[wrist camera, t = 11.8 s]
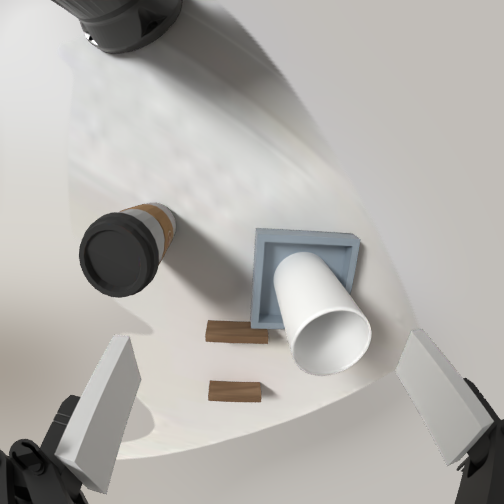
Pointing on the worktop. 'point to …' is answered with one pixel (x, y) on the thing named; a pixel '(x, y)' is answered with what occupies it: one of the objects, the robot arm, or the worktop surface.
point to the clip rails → (234, 334)
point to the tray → (283, 245)
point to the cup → (319, 316)
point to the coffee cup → (126, 248)
